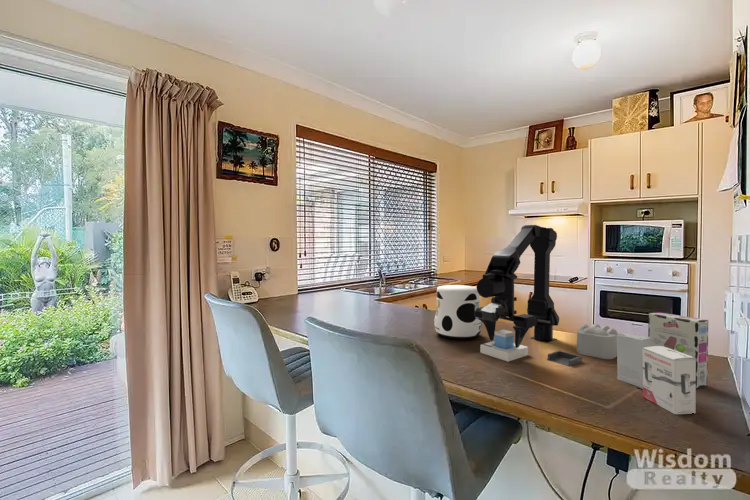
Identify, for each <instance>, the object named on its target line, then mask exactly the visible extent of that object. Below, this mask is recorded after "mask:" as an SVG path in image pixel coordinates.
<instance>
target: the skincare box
mask: <svg viewBox="0 0 750 500" xmlns="http://www.w3.org/2000/svg"><path fill="white" fill-rule="evenodd" d="M644 347H651V338H648V336H642V335H637V334H633V333H630V332H624V333H618V335H617V356H616V357H617V358H616V361H617V363H616V364H617V365H616V367H617V380H618V381H621V382H623V383H627V384H629V385H633V386H636V387H638V388H639V389H642V390H643V352H642V348H644Z"/></svg>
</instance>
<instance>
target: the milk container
mask: <svg viewBox="0 0 750 500" xmlns="http://www.w3.org/2000/svg"><path fill="white" fill-rule="evenodd" d="M477 308H480V295H479V293H478V291H477V286H473V285H463V284H452V285H451V284H448V285H447V284H446V285H439V286H437V288H436V312H435V316H434V321H433V322H434V329H435V331H436V332H435V333H437V334H438V335H439V336H442V337H445V338H448V339H449V338H450V339H457V340H459V339H460V340H463V339H464V340H466V339H472V338H475V337H477V336H479V335H480V333H481V332H482V328H483V327H482V326H483V324H482V323H483V322H482V321H481V320H479V319H478V318H479V317H475V311H476V309H477Z"/></svg>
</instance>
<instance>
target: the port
mask: <svg viewBox="0 0 750 500" xmlns="http://www.w3.org/2000/svg"><path fill="white" fill-rule="evenodd" d="M479 349H480V350H479V351H480V354H483V355H486V356H489V357H492V358H495V359H498V360H502V361H505V362H511V361H515V360H517V359H521V358H524V357H527V356H529V346H526V345H523V344H520V346H519V347H518V348H516V347H515V342H514V347H513V348H510V349H502V348H499V347H496V346H495V340H492V341H489V342H485V343H482V344H480V348H479Z"/></svg>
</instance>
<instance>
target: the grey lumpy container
mask: <svg viewBox="0 0 750 500" xmlns="http://www.w3.org/2000/svg"><path fill="white" fill-rule="evenodd" d="M579 327H580V328H579V329H577V330H576V353H577V354H578V355H581V356H587V357H588V356H589V357H593V358H596V359H600V360H601V359H602V360H613V359H615V358H616V357H617V335H618V334H619V333H618V331H617V329H615V328H610V326H609V325H607V324H606V325H603V326H601V325H600V324H598V323H594V324H592V325H590V326H589V325H588V324H582V325H581V326H579Z"/></svg>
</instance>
